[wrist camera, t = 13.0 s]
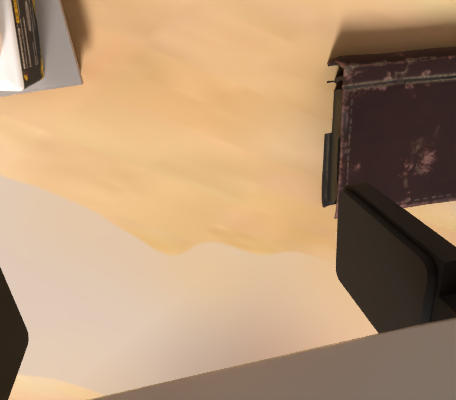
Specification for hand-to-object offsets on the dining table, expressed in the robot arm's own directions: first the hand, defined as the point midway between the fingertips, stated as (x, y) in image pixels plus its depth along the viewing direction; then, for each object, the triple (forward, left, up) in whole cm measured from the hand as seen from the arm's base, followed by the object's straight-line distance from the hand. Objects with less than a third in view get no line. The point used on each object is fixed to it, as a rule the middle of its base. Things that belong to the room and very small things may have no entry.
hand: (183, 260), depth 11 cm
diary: (-31, +10, -33) cm, 46 cm away
